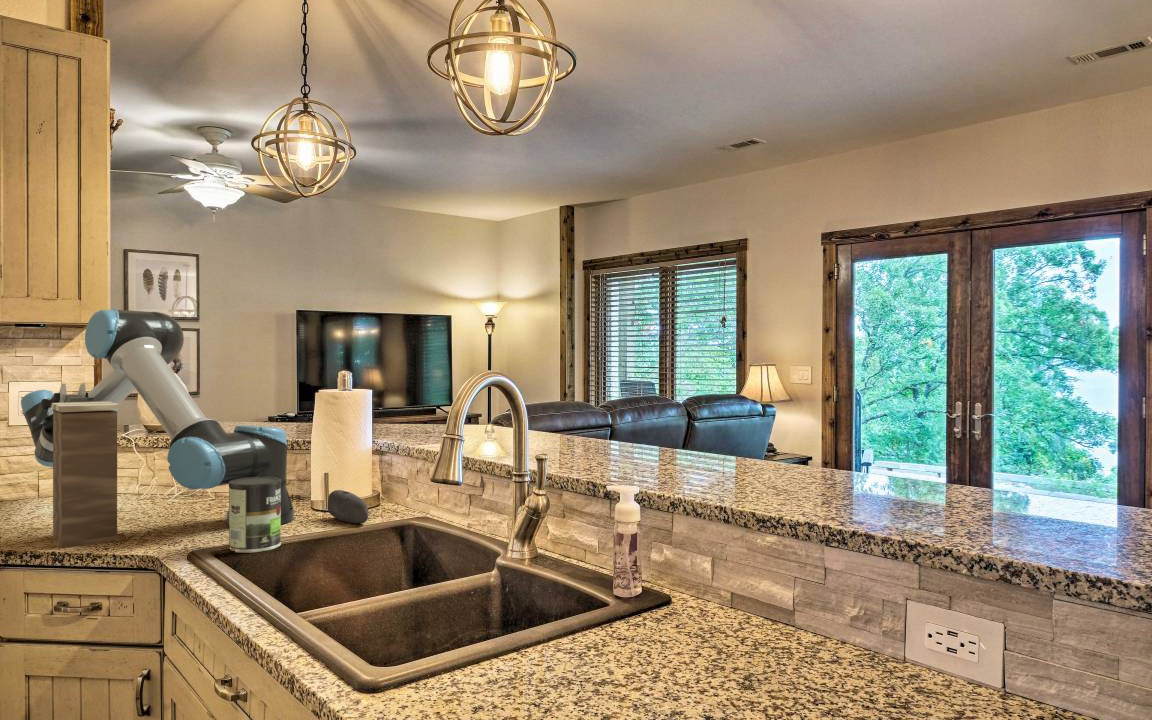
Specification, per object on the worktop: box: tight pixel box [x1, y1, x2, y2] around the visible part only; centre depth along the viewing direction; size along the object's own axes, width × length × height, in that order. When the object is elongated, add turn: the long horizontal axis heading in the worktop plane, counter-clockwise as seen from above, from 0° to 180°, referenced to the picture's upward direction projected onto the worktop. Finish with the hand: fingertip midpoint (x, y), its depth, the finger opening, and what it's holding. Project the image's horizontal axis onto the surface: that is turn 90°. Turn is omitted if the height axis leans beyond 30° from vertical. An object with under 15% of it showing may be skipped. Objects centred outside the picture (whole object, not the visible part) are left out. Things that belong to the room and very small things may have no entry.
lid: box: [51, 393, 121, 412], centre depth 170 cm, size 29×11×2 cm, turn 42°
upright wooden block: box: [52, 410, 118, 549], centre depth 164 cm, size 12×10×28 cm
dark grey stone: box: [326, 489, 370, 524], centre depth 183 cm, size 15×5×7 cm, turn 45°
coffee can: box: [227, 477, 282, 554], centre depth 159 cm, size 10×10×14 cm
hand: (73, 388), depth 174 cm, fingers closed on lid, 3 cm apart
